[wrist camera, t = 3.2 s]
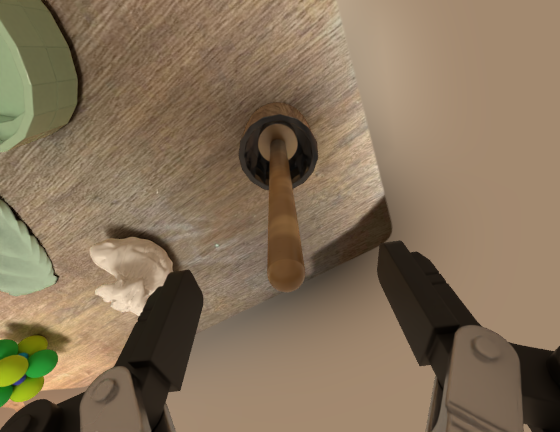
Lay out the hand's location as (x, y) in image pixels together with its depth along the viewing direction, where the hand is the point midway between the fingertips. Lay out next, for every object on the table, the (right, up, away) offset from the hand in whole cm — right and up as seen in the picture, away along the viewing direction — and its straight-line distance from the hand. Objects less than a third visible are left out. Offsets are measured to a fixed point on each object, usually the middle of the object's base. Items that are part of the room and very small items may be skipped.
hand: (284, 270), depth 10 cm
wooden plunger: (0, +11, +16) cm, 19 cm away
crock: (-1, +11, +16) cm, 20 cm away
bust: (-19, -3, +25) cm, 32 cm away
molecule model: (-47, -21, +37) cm, 63 cm away
